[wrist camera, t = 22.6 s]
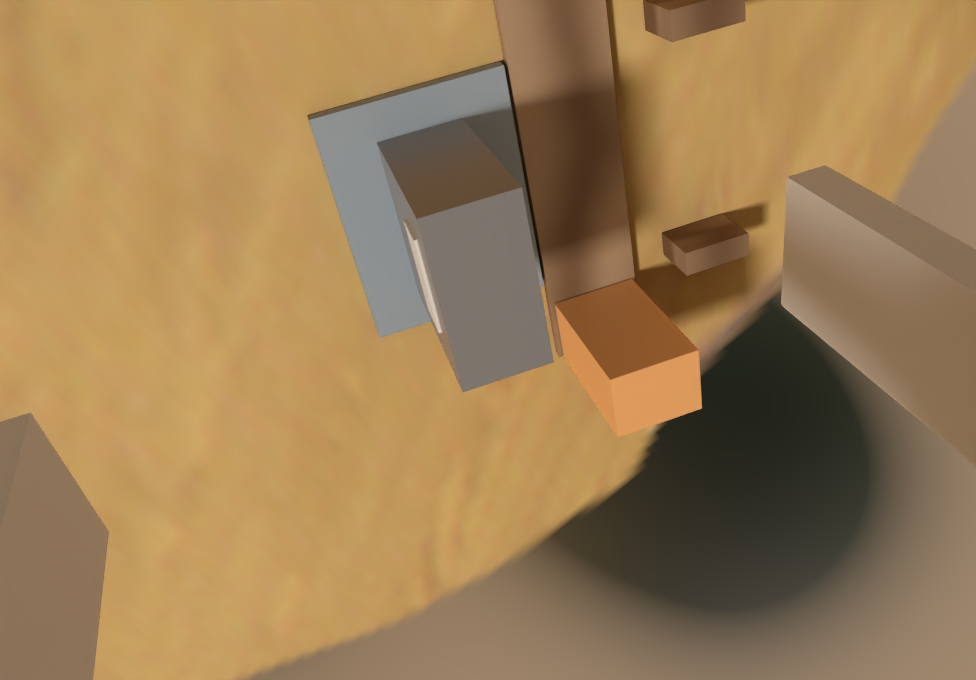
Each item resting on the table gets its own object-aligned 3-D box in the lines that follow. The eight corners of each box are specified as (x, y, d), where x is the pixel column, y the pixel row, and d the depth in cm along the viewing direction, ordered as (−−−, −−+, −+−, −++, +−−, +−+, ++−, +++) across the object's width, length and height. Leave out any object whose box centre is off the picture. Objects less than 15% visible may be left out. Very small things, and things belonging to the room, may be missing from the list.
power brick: (416, 294, 46) (459, 393, 38) (373, 143, 41) (412, 220, 33) (494, 269, 47) (553, 362, 38) (461, 117, 42) (521, 187, 33)
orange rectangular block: (563, 356, 51) (617, 437, 44) (554, 303, 49) (610, 380, 42) (637, 332, 52) (701, 408, 45) (631, 278, 50) (698, 349, 43)
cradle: (556, 352, 52) (573, 377, 49) (487, -35, 39) (505, -26, 37) (724, 295, 53) (749, 318, 51) (711, -95, 40) (743, -90, 38)
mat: (377, 331, 48) (379, 337, 47) (307, 115, 40) (308, 120, 40) (539, 279, 49) (543, 285, 48) (499, 61, 42) (503, 65, 41)
